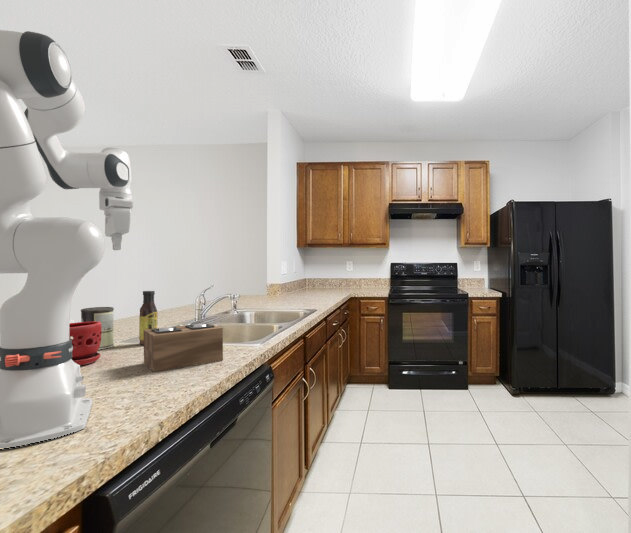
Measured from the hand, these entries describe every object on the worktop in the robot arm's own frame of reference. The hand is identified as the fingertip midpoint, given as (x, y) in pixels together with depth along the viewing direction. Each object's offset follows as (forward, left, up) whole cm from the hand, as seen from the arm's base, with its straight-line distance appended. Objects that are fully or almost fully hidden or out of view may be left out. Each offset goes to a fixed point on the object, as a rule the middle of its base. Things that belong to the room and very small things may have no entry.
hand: (116, 250), depth 115 cm
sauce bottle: (+23, -14, -34) cm, 44 cm away
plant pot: (+7, +10, -34) cm, 36 cm away
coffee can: (+28, +2, -34) cm, 44 cm away
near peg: (-12, -11, -34) cm, 37 cm away
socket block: (-12, -16, -34) cm, 39 cm away
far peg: (-12, -21, -34) cm, 42 cm away
